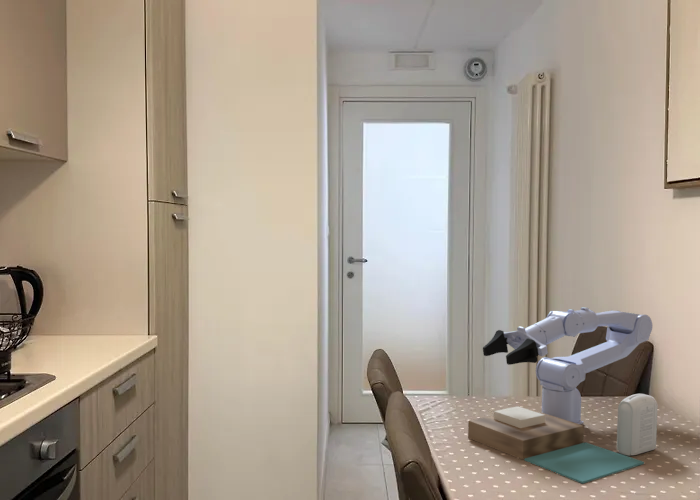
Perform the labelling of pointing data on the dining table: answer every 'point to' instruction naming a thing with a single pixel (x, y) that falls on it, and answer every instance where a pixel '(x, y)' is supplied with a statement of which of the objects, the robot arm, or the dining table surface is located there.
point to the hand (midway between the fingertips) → (495, 356)
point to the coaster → (519, 417)
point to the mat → (584, 462)
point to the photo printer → (637, 424)
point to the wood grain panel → (526, 435)
